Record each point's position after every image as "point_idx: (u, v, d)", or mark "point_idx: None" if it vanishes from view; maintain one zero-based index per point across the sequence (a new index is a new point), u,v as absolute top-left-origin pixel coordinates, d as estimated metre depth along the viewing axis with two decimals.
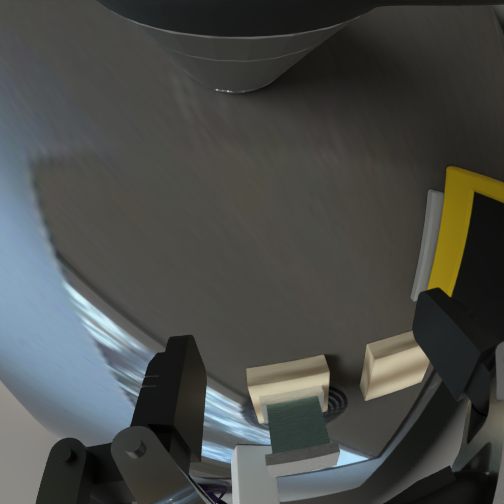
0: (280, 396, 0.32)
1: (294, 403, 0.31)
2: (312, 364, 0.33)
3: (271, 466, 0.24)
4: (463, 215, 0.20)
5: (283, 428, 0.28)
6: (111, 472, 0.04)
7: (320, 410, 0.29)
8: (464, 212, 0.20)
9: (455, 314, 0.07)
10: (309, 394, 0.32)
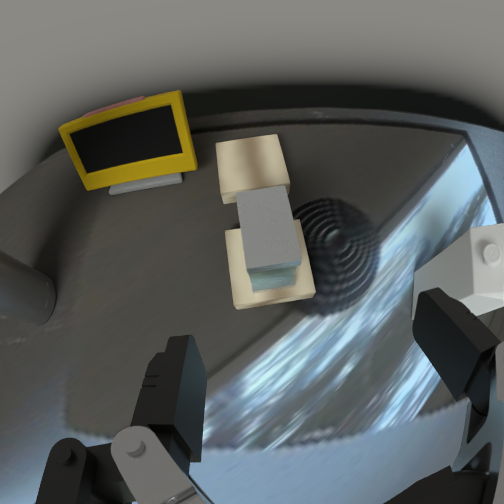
0: None
1: None
2: None
3: (249, 262, 0.26)
4: (99, 175, 0.40)
5: None
6: (111, 472, 0.04)
7: None
8: (97, 175, 0.40)
9: (455, 314, 0.07)
10: None
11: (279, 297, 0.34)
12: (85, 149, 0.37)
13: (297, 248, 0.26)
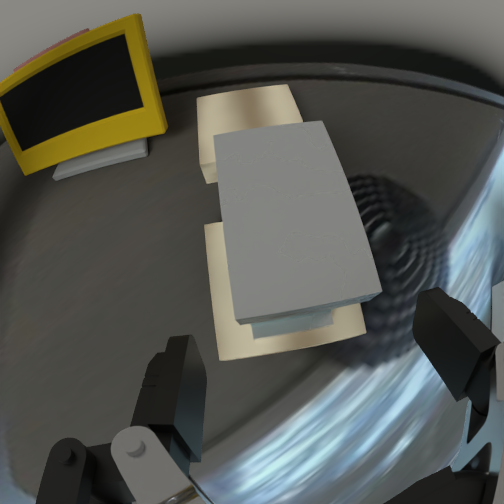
0: None
1: None
2: None
3: (245, 300, 0.09)
4: (35, 151, 0.24)
5: None
6: (111, 472, 0.04)
7: None
8: (33, 151, 0.24)
9: (455, 314, 0.07)
10: None
11: (302, 345, 0.18)
12: (17, 116, 0.20)
13: (368, 261, 0.09)
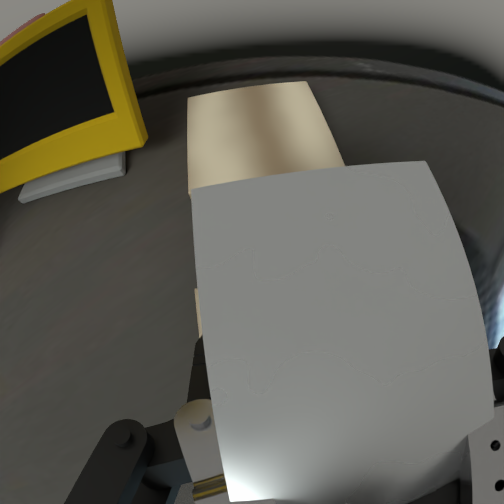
0: None
1: None
2: None
3: None
4: None
5: None
6: (169, 461, 0.05)
7: None
8: None
9: None
10: None
11: None
12: None
13: None
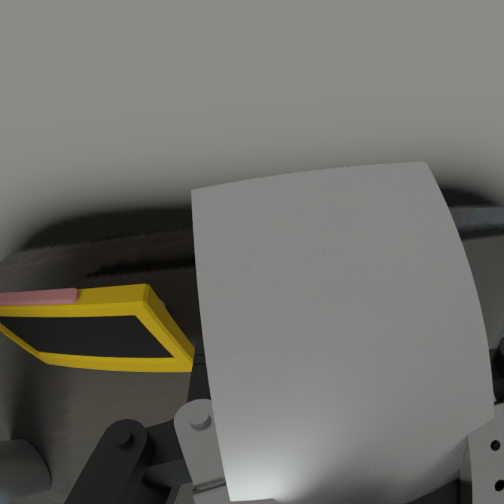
0: None
1: None
2: None
3: None
4: (55, 358, 0.24)
5: None
6: (170, 461, 0.05)
7: None
8: (53, 357, 0.24)
9: None
10: None
11: None
12: (22, 334, 0.20)
13: None
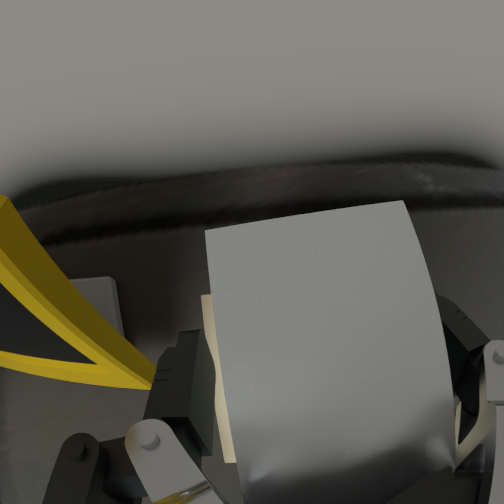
0: None
1: None
2: None
3: None
4: None
5: None
6: (124, 469, 0.05)
7: None
8: None
9: (444, 313, 0.07)
10: None
11: None
12: None
13: (449, 463, 0.04)
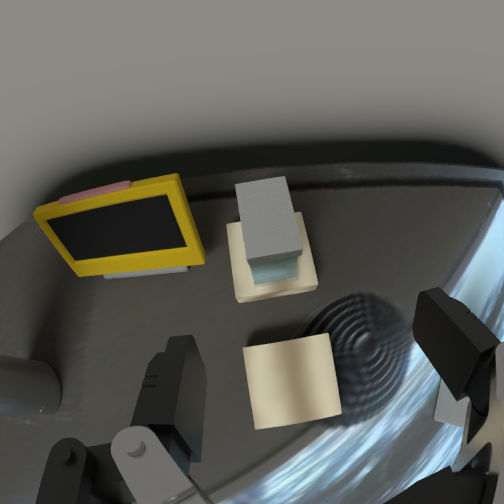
0: None
1: None
2: None
3: (250, 252, 0.25)
4: (89, 264, 0.35)
5: None
6: (111, 472, 0.04)
7: None
8: (87, 264, 0.35)
9: (455, 314, 0.07)
10: None
11: (303, 421, 0.28)
12: (68, 237, 0.31)
13: (298, 237, 0.25)
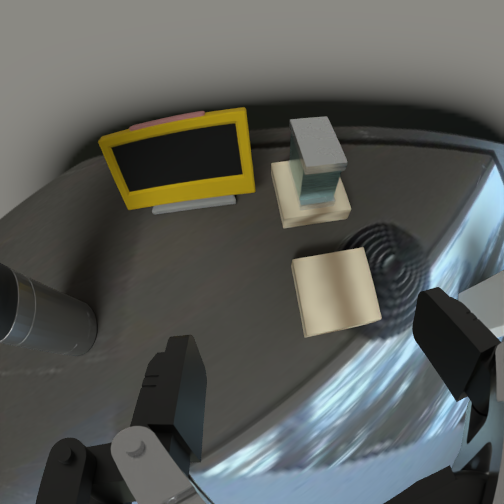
0: (296, 193, 0.40)
1: (294, 178, 0.40)
2: (294, 276, 0.38)
3: (308, 162, 0.31)
4: (144, 194, 0.40)
5: (298, 174, 0.36)
6: (111, 472, 0.04)
7: (290, 155, 0.39)
8: (142, 194, 0.40)
9: (455, 314, 0.07)
10: (290, 171, 0.41)
11: (349, 325, 0.34)
12: (130, 165, 0.36)
13: (343, 155, 0.31)
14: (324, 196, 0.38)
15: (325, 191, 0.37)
